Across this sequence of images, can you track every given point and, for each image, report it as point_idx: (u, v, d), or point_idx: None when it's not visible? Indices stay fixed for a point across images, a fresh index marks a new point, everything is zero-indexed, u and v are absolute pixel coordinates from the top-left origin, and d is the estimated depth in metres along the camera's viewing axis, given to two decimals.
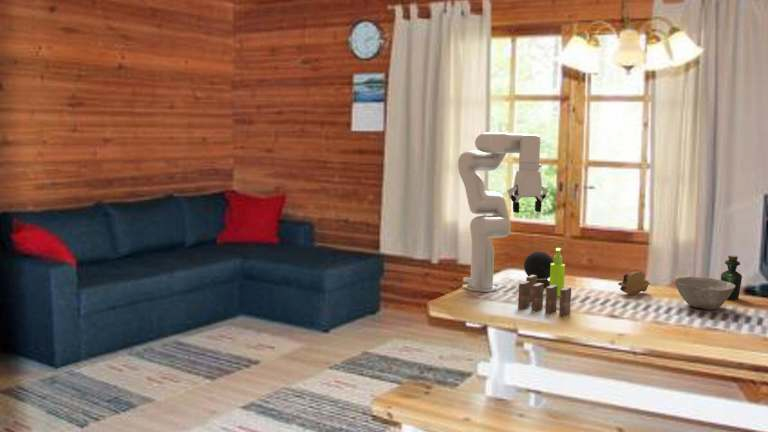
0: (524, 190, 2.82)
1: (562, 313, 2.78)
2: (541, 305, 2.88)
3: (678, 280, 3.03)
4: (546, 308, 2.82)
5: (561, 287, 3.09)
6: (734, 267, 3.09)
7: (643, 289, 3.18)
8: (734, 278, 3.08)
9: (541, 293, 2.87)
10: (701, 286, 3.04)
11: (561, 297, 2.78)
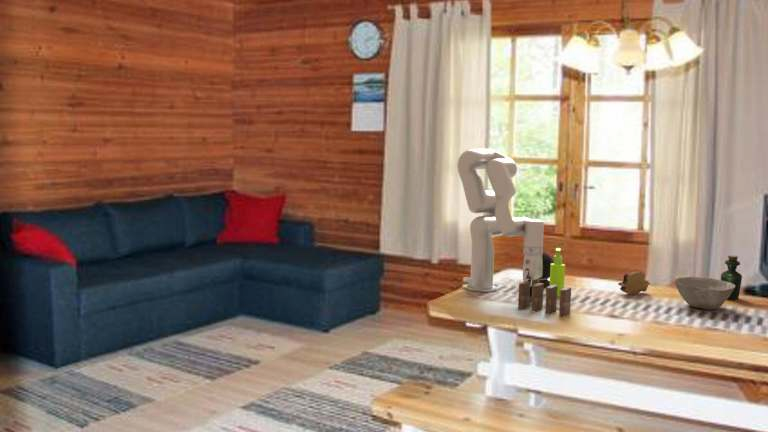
0: None
1: (562, 313, 2.78)
2: (541, 305, 2.88)
3: (678, 280, 3.03)
4: (546, 308, 2.82)
5: (561, 287, 3.09)
6: (734, 267, 3.09)
7: (643, 289, 3.18)
8: (734, 278, 3.08)
9: (541, 293, 2.87)
10: (701, 286, 3.04)
11: (561, 297, 2.78)
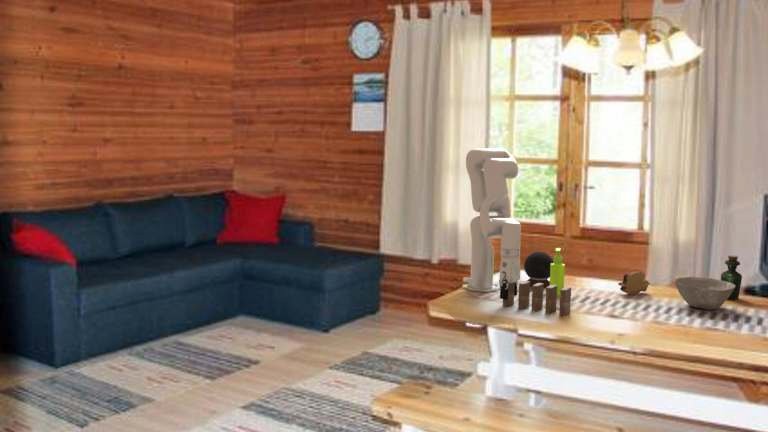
0: None
1: (562, 313, 2.78)
2: (541, 305, 2.88)
3: (678, 280, 3.03)
4: (546, 308, 2.82)
5: (561, 287, 3.09)
6: (734, 267, 3.09)
7: (643, 289, 3.18)
8: (734, 278, 3.08)
9: (541, 293, 2.87)
10: (701, 286, 3.04)
11: (561, 297, 2.78)
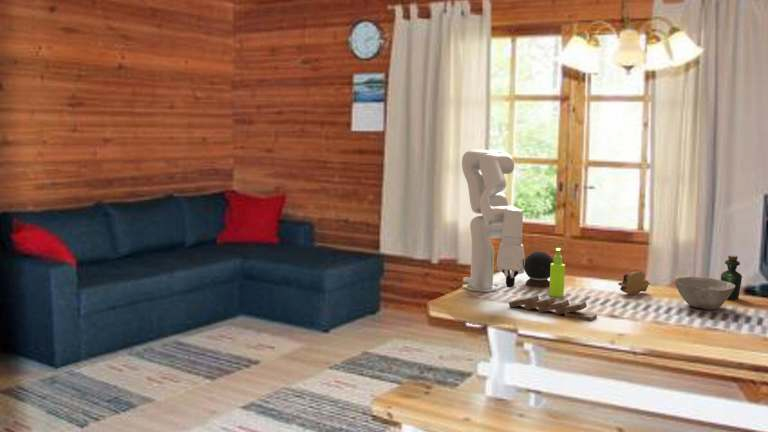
0: None
1: None
2: None
3: (678, 280, 3.03)
4: (560, 309, 2.78)
5: (561, 287, 3.09)
6: (734, 267, 3.09)
7: (643, 289, 3.18)
8: (734, 278, 3.08)
9: None
10: (701, 286, 3.04)
11: (583, 317, 2.74)
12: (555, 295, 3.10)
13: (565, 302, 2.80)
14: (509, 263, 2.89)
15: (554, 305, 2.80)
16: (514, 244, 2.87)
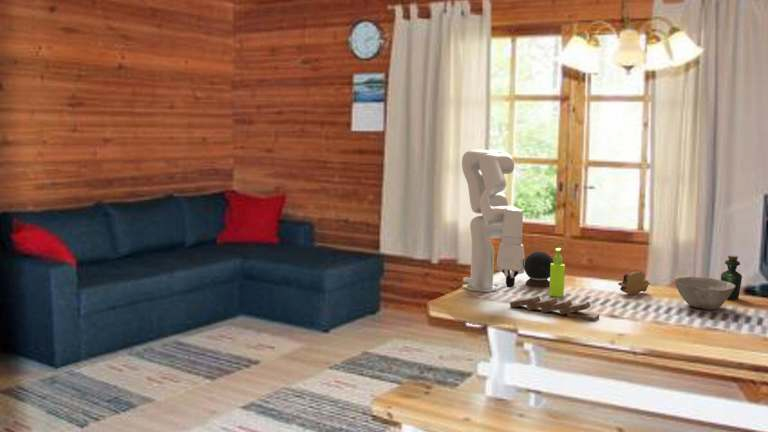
0: None
1: (569, 317, 2.77)
2: None
3: (678, 280, 3.03)
4: (564, 309, 2.77)
5: (561, 287, 3.09)
6: (734, 267, 3.09)
7: (643, 289, 3.18)
8: (734, 278, 3.08)
9: None
10: (701, 286, 3.04)
11: (586, 317, 2.73)
12: (555, 295, 3.10)
13: (568, 302, 2.80)
14: (509, 263, 2.89)
15: (557, 305, 2.79)
16: (514, 244, 2.87)
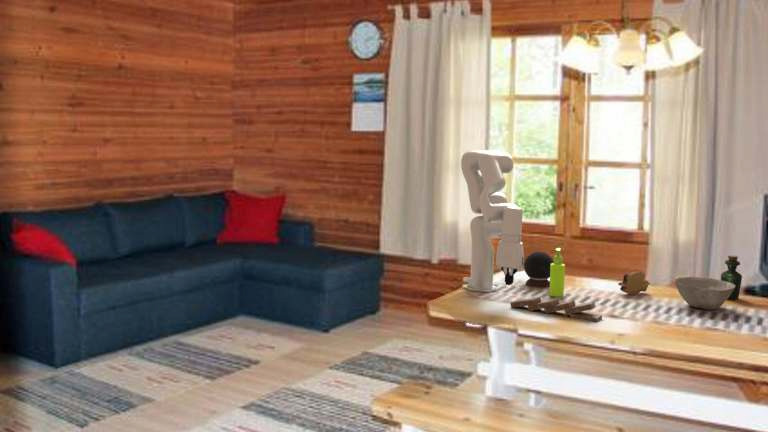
0: None
1: (572, 317, 2.76)
2: None
3: (678, 280, 3.03)
4: (569, 309, 2.76)
5: (561, 287, 3.09)
6: (734, 267, 3.09)
7: (643, 289, 3.18)
8: (734, 278, 3.08)
9: None
10: (701, 286, 3.04)
11: (588, 318, 2.73)
12: (555, 295, 3.10)
13: (571, 302, 2.79)
14: (508, 261, 2.89)
15: (561, 306, 2.78)
16: (513, 242, 2.87)
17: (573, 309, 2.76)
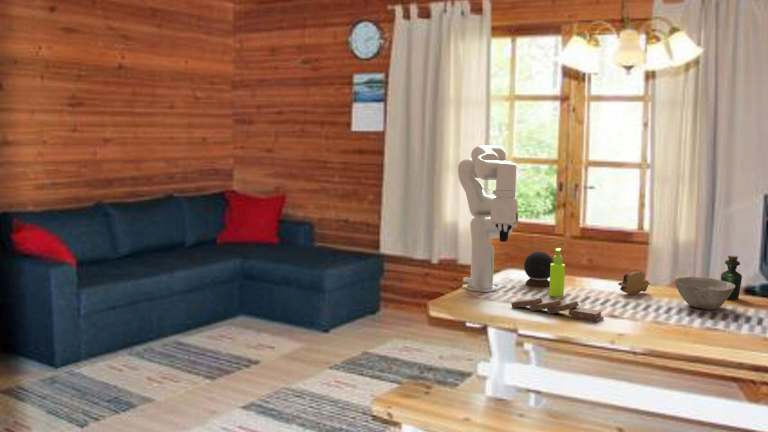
0: None
1: None
2: None
3: (678, 280, 3.03)
4: (574, 311, 2.74)
5: (561, 287, 3.09)
6: (734, 267, 3.09)
7: (643, 289, 3.18)
8: (734, 278, 3.08)
9: None
10: (701, 286, 3.04)
11: (589, 319, 2.72)
12: (555, 295, 3.10)
13: (573, 303, 2.77)
14: (502, 217, 2.88)
15: (562, 306, 2.77)
16: (507, 197, 2.86)
17: (577, 313, 2.73)
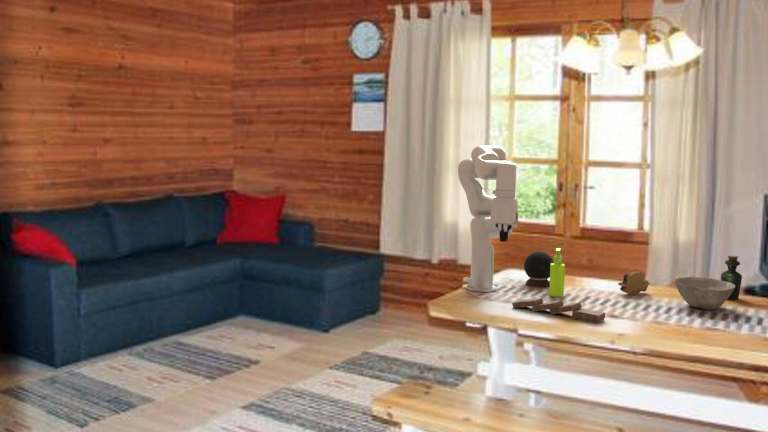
0: None
1: None
2: None
3: (678, 280, 3.03)
4: (577, 312, 2.73)
5: (561, 287, 3.09)
6: (734, 267, 3.09)
7: (643, 289, 3.18)
8: (734, 278, 3.08)
9: None
10: (701, 286, 3.04)
11: (590, 320, 2.71)
12: (555, 295, 3.10)
13: (576, 305, 2.76)
14: (502, 217, 2.88)
15: (564, 307, 2.76)
16: (507, 197, 2.86)
17: (580, 313, 2.72)
